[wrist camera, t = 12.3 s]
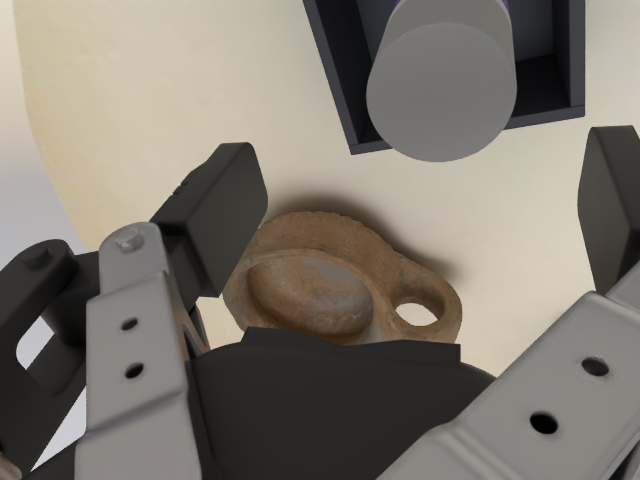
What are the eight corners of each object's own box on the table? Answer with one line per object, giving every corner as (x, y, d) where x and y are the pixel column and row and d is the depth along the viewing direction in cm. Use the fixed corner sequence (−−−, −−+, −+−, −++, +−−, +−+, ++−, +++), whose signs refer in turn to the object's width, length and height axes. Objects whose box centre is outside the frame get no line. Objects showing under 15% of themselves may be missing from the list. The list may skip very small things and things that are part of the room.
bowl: (456, 171, 32) (454, 307, 26) (466, 277, 43) (465, 389, 37) (221, 186, 38) (180, 300, 32) (282, 276, 48) (259, 372, 43)
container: (441, -92, 24) (413, -17, 13) (520, -42, 24) (559, 71, 13) (393, -1, 27) (337, 122, 16) (464, 41, 27) (457, 188, 16)
